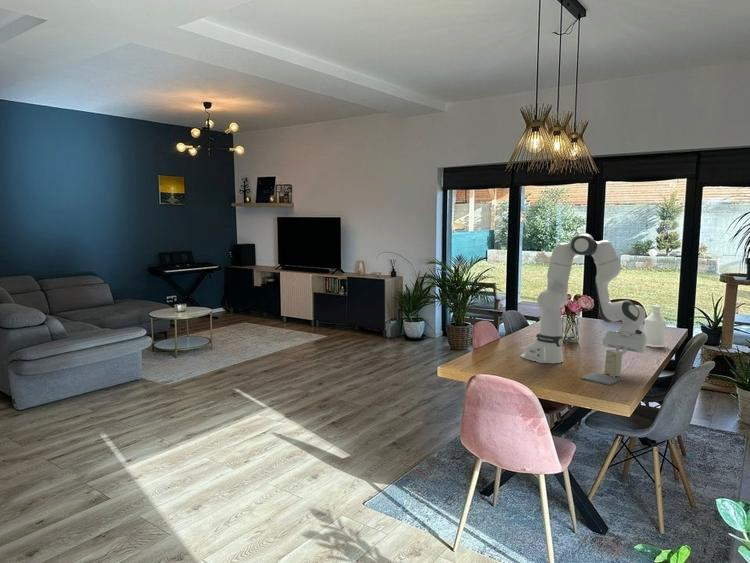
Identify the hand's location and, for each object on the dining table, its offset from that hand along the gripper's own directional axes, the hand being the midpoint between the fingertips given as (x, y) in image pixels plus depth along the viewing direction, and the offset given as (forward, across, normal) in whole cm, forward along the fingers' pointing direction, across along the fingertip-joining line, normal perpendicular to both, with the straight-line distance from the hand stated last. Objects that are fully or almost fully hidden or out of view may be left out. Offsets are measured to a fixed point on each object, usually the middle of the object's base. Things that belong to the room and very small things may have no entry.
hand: (618, 355), depth 267 cm
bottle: (-52, -13, +64) cm, 84 cm away
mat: (+19, 0, -6) cm, 20 cm away
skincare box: (+11, 0, +2) cm, 11 cm away
